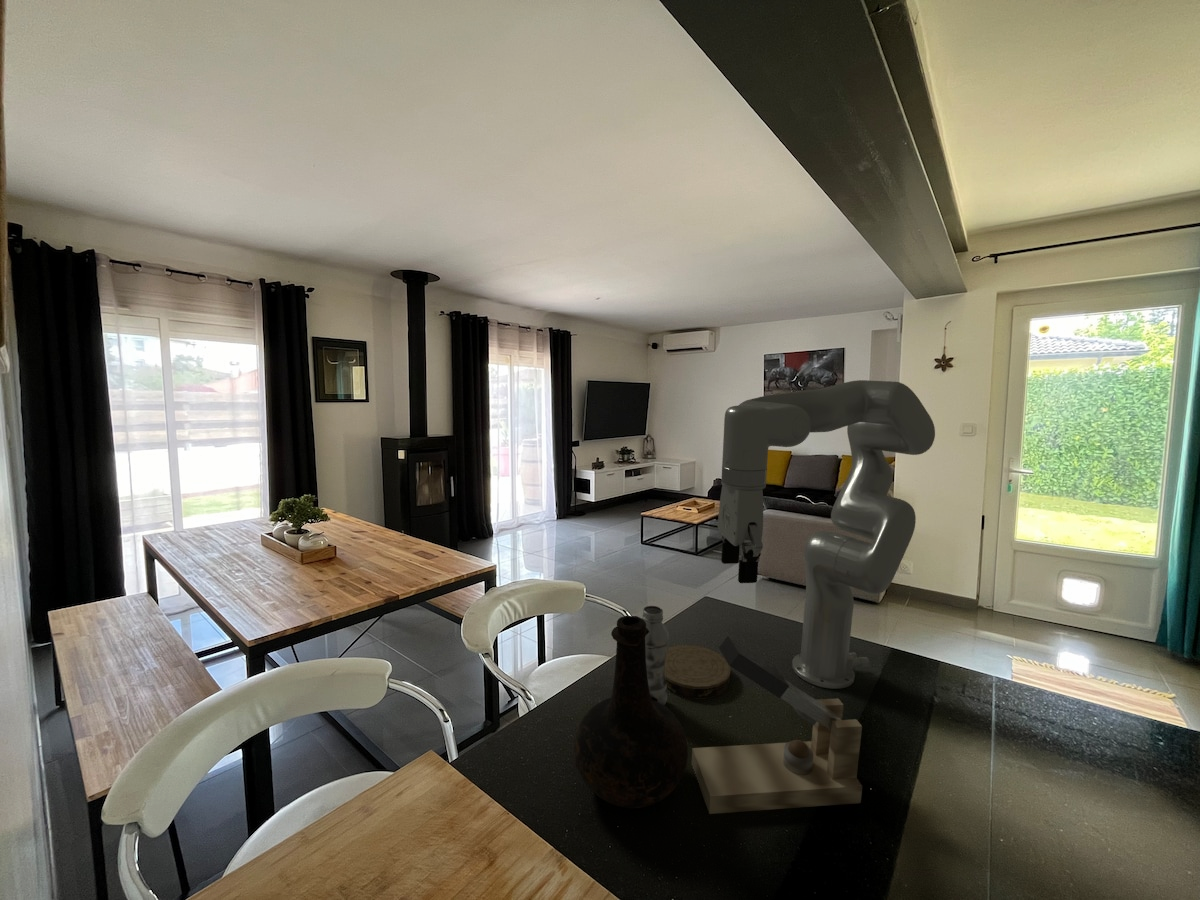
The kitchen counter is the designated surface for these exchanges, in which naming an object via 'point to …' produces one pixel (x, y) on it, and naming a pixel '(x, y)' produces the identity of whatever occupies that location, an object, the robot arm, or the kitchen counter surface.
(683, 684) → the brown round flat disc
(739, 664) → the lever
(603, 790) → the glass bottle
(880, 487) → the robot arm
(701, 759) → the nutcracker base
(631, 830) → the kitchen counter surface
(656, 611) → the plastic bottle
